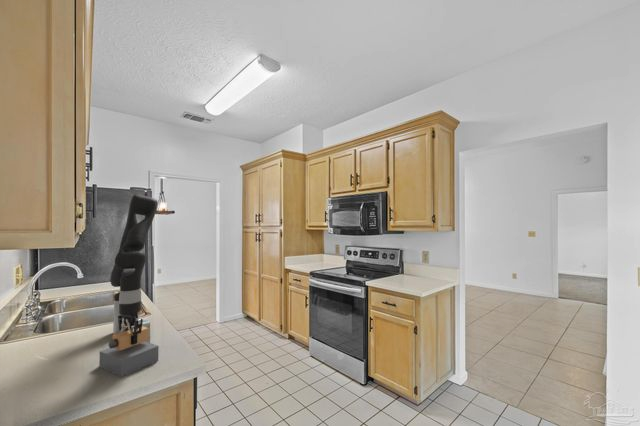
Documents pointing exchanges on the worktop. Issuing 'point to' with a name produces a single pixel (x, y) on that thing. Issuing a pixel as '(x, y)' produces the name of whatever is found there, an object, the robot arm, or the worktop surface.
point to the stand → (128, 358)
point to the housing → (128, 339)
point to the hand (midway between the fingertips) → (129, 342)
